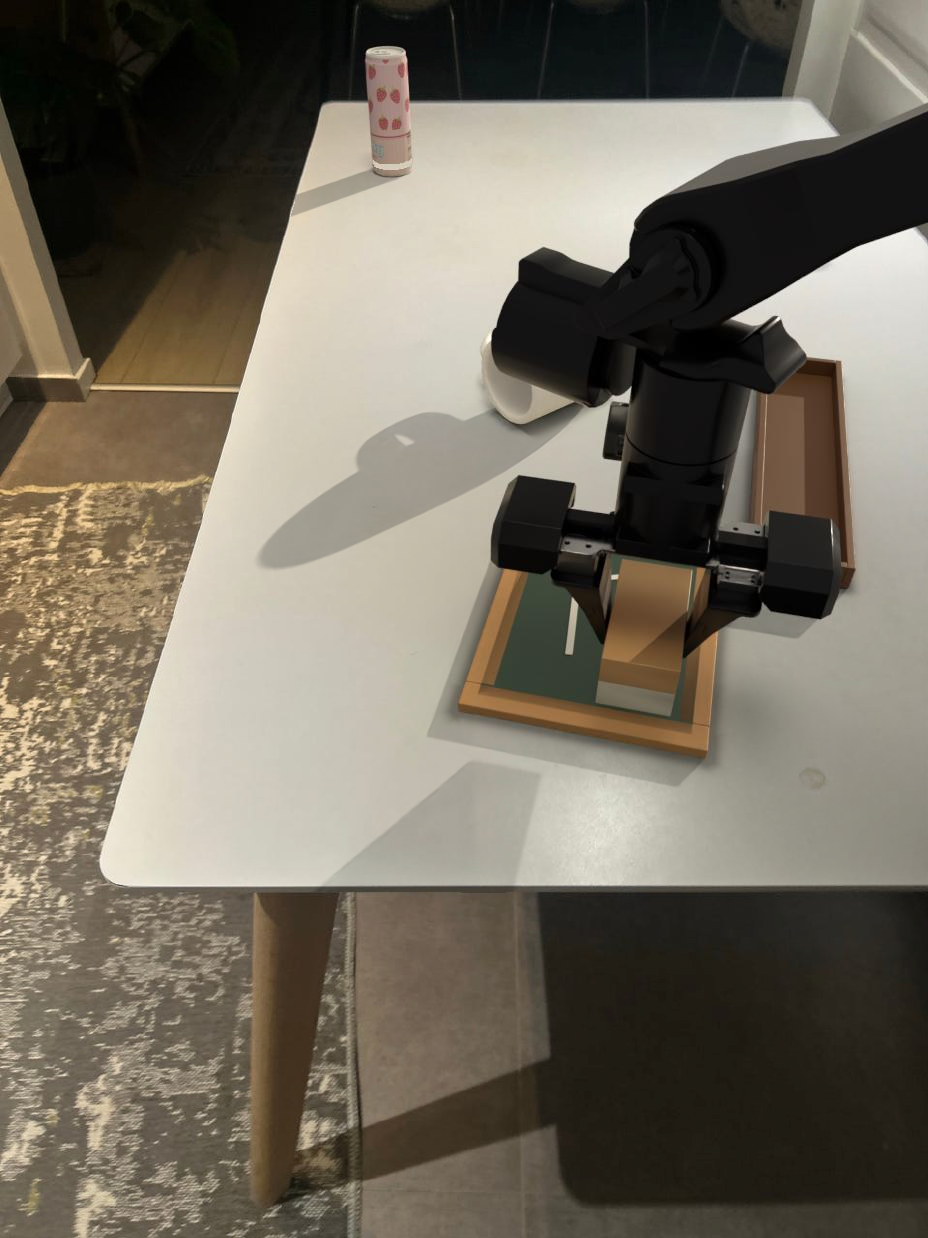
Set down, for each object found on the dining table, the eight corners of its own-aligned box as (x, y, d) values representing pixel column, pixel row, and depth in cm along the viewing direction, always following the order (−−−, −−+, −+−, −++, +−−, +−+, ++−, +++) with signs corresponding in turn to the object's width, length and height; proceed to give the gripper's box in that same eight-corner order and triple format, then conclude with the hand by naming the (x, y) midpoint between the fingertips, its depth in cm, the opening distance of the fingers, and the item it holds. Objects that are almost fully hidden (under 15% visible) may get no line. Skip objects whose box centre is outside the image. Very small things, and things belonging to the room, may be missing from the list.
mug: (614, 402, 87) (624, 323, 82) (534, 439, 83) (538, 358, 77) (532, 353, 94) (536, 277, 89) (454, 385, 90) (453, 307, 84)
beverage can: (366, 167, 133) (357, 48, 123) (402, 160, 135) (395, 43, 125) (383, 179, 130) (374, 58, 119) (419, 172, 132) (414, 52, 121)
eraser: (615, 603, 62) (621, 558, 59) (682, 614, 61) (692, 569, 58) (595, 703, 56) (601, 657, 53) (670, 717, 55) (680, 671, 52)
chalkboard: (723, 556, 71) (725, 547, 71) (705, 758, 57) (708, 750, 57) (521, 525, 74) (521, 516, 74) (457, 711, 60) (457, 702, 60)
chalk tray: (836, 379, 90) (842, 360, 89) (848, 589, 68) (856, 568, 67) (758, 370, 91) (762, 351, 90) (746, 573, 70) (752, 553, 68)
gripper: (866, 376, 51) (797, 586, 62) (533, 338, 54) (523, 543, 65) (878, 495, 43) (797, 710, 54) (489, 442, 46) (487, 655, 57)
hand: (643, 646), depth 58 cm, fingers closed on eraser, 4 cm apart
